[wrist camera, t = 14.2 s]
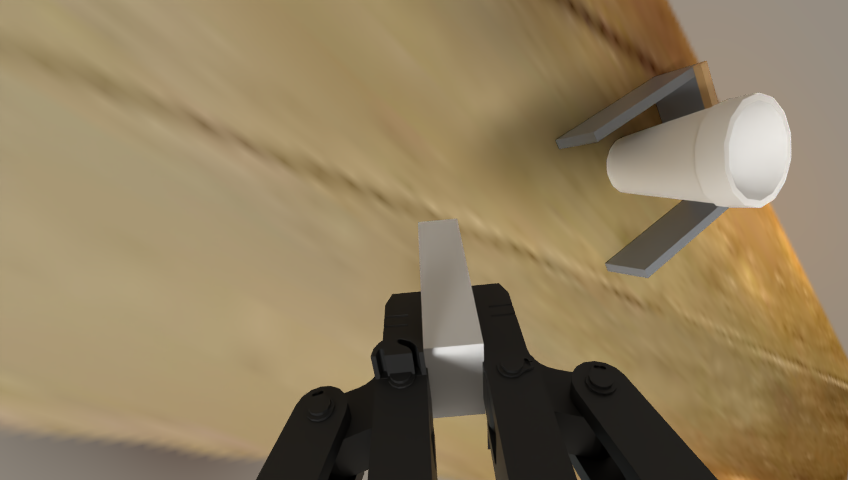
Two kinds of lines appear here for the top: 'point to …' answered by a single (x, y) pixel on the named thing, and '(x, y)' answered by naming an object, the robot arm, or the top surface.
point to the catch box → (673, 101)
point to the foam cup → (709, 155)
